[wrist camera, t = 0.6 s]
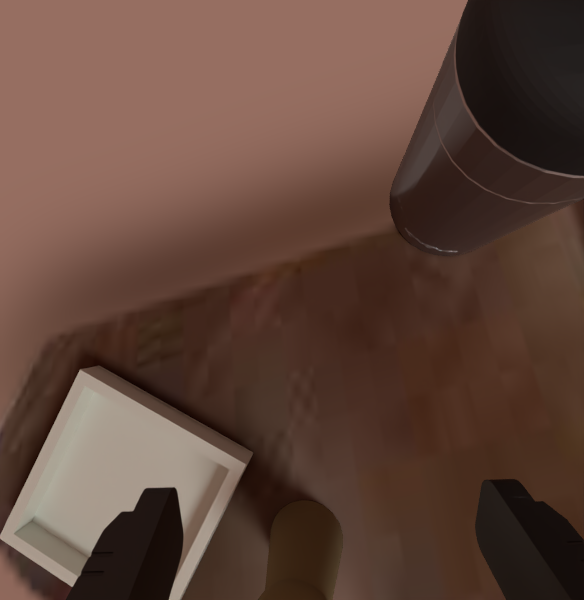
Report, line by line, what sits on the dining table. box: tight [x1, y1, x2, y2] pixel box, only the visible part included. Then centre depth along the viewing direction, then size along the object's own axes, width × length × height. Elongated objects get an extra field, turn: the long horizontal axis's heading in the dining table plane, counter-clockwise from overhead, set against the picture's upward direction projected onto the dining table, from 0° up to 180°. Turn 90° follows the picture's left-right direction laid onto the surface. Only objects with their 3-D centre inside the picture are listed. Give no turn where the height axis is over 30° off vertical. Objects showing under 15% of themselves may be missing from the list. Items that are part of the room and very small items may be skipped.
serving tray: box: [0, 366, 253, 600], centre depth 31 cm, size 16×16×2 cm
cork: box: [258, 500, 343, 600], centre depth 25 cm, size 6×6×11 cm
